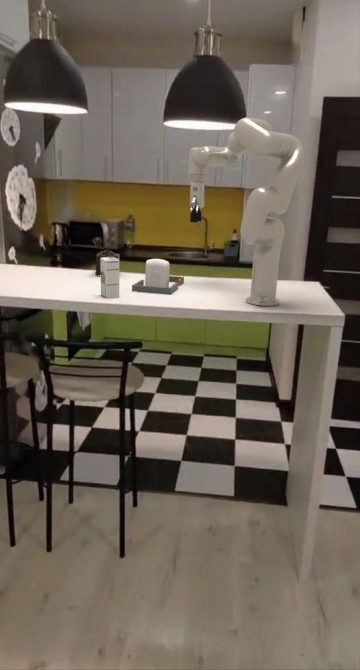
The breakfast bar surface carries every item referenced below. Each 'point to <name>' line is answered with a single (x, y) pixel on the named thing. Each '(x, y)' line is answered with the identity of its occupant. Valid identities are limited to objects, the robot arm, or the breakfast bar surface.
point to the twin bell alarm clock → (102, 254)
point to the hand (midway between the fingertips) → (195, 221)
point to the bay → (154, 288)
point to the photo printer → (157, 273)
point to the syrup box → (109, 277)
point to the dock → (176, 279)
